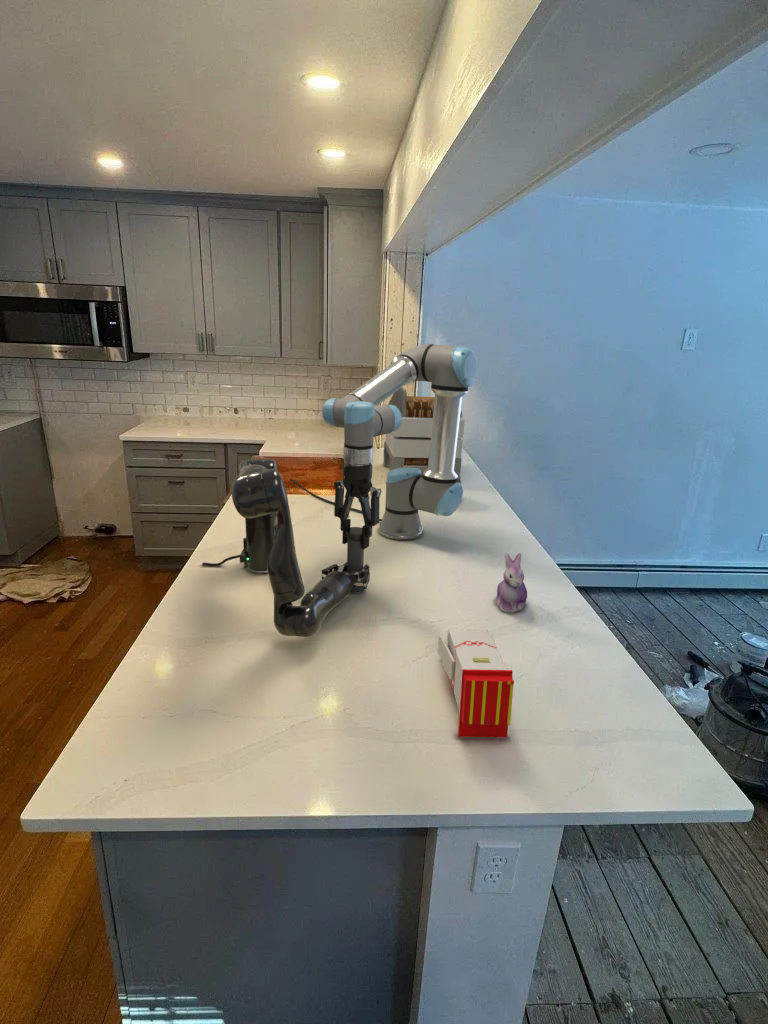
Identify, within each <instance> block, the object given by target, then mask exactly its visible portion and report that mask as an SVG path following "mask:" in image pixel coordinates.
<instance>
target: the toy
mask: <svg viewBox="0 0 768 1024" xmlns="http://www.w3.org/2000/svg"><path fill="white" fill-rule="evenodd" d="M446 640H447V643H446V641H445V639H444V636H443V635H442V634H439V637H438V646H437V656H438V657H439V659H440V661H441V663H442V666H443V668H444V670H445V672H446V674H447V677H448V679H449V681H450V684H451V687H452V690H453V693H454V697H455V701H456V705H457V708H458V711H459V714H458V715H459V716H458V730H457V731H458V732H457V737H458V738H508V731H509V726H510V725H511V717H512V707H513V697H514V696H513V695H514V684H515V680H514V679H513V673H514V671H513V670H512V669H508V667H507V665H506V662H505V661H504V659H503V658H502V655H501V653H500V651H499V649H498V647H497V643H496V639H495V637H494V635H493V634H491V632H490V631H489V629H467V628H466V629H465V628H463V629H461V628H460V629H459V628H448V630H447V639H446Z"/></svg>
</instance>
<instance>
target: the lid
mask: <svg viewBox="0 0 768 1024" xmlns="http://www.w3.org/2000/svg"><path fill="white" fill-rule="evenodd" d="M345 535H346V537H347V538H349V539H352V540H361V539H362V526H350V528H347V529H346V534H345Z"/></svg>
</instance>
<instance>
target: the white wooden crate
mask: <svg viewBox="0 0 768 1024" xmlns="http://www.w3.org/2000/svg"><path fill="white" fill-rule="evenodd" d="M407 394H408V393H407V390H406V389H404V388H403V387H401V388H400V389H399V390H397V391H396V392H395V393H393V394H392V395H391V398H390V400H389V402H388V404H387V405H394V406H396V407H397V408H398V409H399V411H400V413H401V415H402V422H401V425H400V427H399V428H398V429H397V430H396V431H393V432H391V433H389V434H385V438H384V442H383V466H384V467H388V468H389V471H391V470H394V469H398V468H405V466H406V467H407V466H411V467H412V466H413V467H415V466H416V467H417V466H418V467H428V461H429V451H430V441H431V431H432V421H433V411H434V401H435V396H415V395H414V396H413V395H412V396H411V395H407ZM464 429H465V419H464V418H463V411H461V412H460V421H459V430H458V439H457V447H456V456H455V465H454V472H455V473H456V474H457V475H458V478H460V479H461V472H462V461H463V460H462V453H463V442H464V441H463V440H462V439H463V438H464V431H465V430H464Z"/></svg>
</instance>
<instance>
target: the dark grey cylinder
mask: <svg viewBox="0 0 768 1024" xmlns="http://www.w3.org/2000/svg"><path fill="white" fill-rule="evenodd" d="M346 545H347V547H346V562H347V572H349V573H350V572H352V571H355V570H357V571H358V570H361V568H363V567H364V559H365V558H364V557H365V555H364V554H365V549H364V550H363V549H362V539H361V540H352V539H349V538H348V539H347V543H346ZM363 590H364V589H362V586H357V587H355V588H353V589H352V590H351V592H350V593H351V594H359V593H361V592H363ZM350 593H349V594H350Z"/></svg>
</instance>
